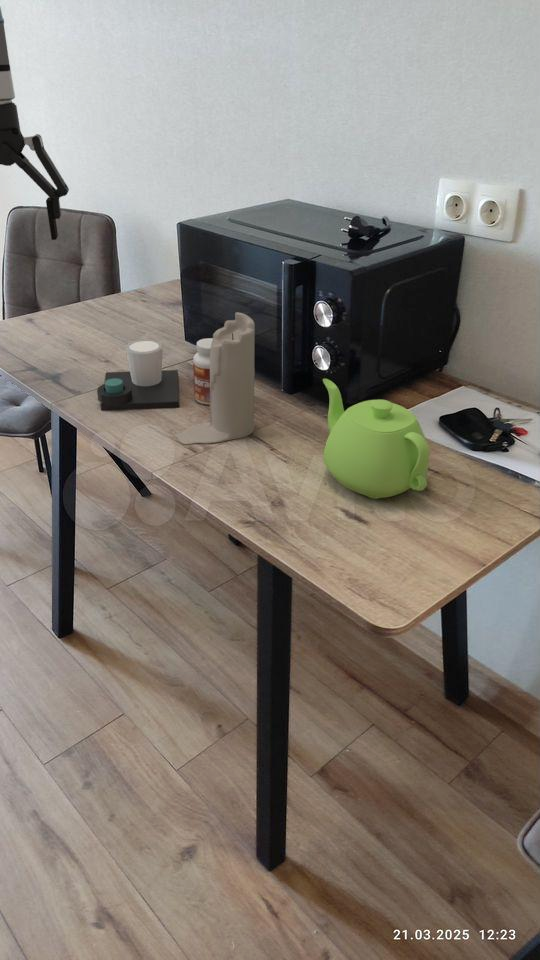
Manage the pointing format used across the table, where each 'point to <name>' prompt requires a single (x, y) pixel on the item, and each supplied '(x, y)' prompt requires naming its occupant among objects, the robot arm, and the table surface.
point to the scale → (141, 393)
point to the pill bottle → (202, 371)
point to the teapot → (375, 447)
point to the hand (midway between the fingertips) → (15, 238)
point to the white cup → (145, 362)
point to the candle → (228, 385)
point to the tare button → (114, 386)
